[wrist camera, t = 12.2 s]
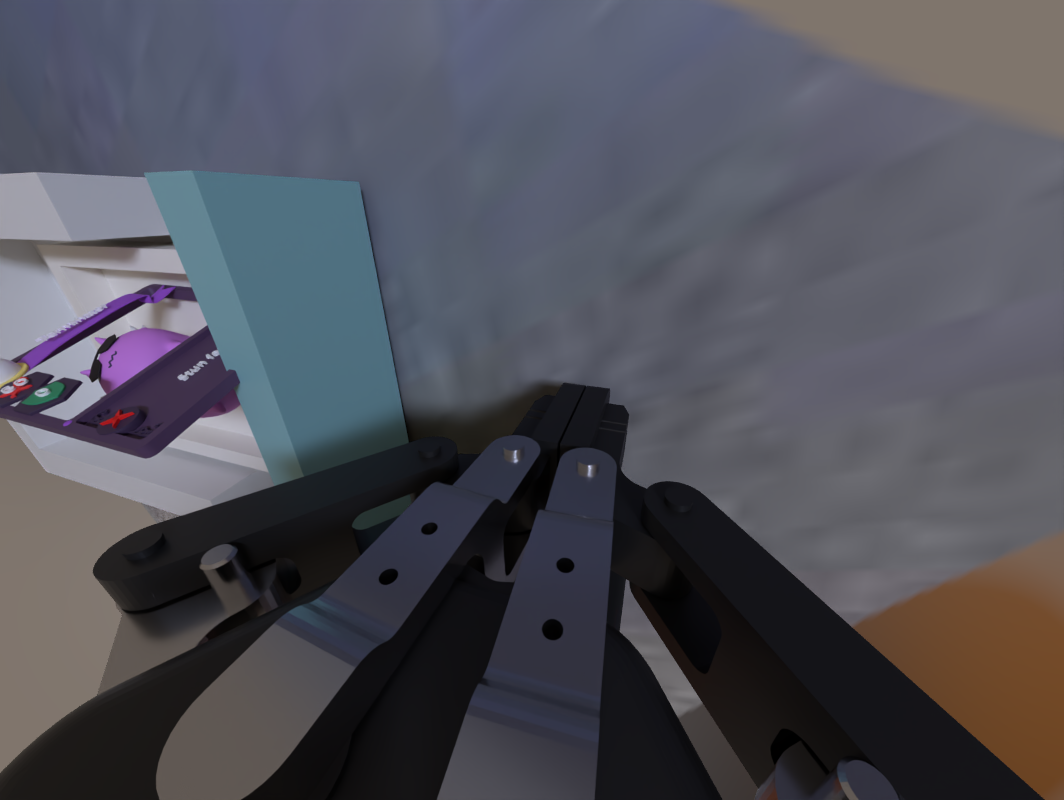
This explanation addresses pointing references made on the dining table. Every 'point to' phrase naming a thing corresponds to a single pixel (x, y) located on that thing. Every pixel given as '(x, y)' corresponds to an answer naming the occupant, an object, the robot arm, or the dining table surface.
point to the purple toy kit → (125, 380)
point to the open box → (41, 307)
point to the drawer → (263, 316)
